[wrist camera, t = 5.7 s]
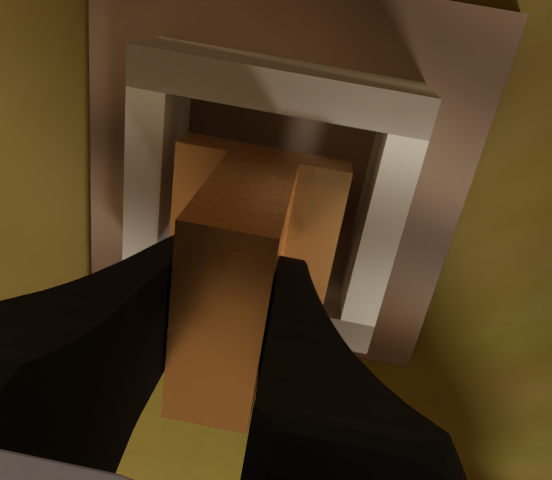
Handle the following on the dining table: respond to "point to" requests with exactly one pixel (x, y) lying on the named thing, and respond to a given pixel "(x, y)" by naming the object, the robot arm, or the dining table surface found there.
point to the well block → (306, 127)
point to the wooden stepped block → (239, 264)
